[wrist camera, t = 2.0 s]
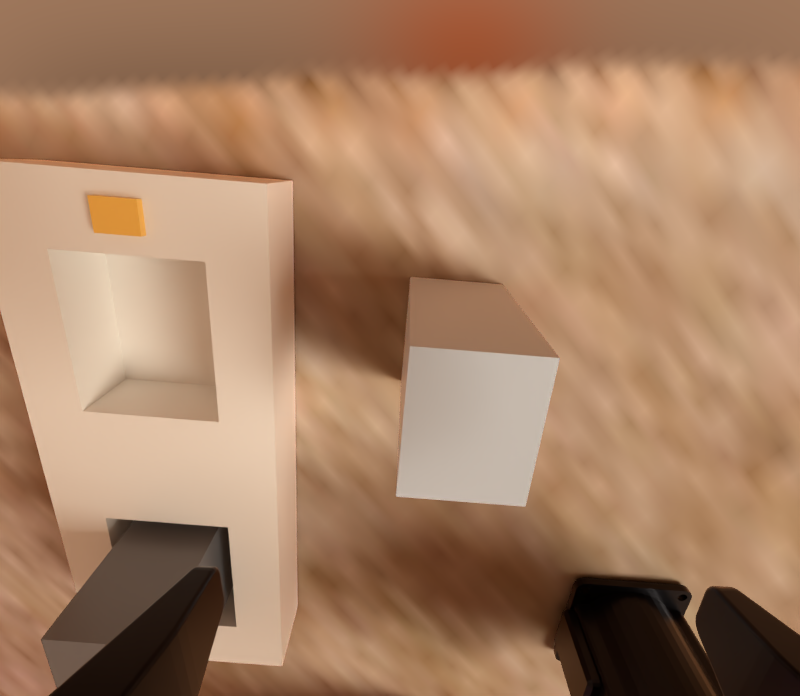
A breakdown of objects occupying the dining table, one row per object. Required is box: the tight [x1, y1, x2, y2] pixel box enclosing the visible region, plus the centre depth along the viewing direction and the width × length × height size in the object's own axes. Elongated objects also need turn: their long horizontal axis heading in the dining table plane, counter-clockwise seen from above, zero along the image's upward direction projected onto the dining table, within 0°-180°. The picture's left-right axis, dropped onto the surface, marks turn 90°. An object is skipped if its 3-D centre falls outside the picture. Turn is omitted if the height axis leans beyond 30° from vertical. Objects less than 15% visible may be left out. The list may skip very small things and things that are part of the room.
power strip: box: [0, 159, 298, 666], centre depth 21 cm, size 10×24×4 cm, turn 176°
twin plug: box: [41, 520, 233, 688], centre depth 20 cm, size 4×5×8 cm
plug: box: [396, 277, 560, 507], centre depth 17 cm, size 4×5×8 cm
